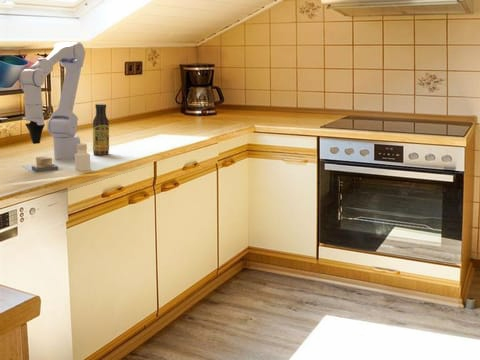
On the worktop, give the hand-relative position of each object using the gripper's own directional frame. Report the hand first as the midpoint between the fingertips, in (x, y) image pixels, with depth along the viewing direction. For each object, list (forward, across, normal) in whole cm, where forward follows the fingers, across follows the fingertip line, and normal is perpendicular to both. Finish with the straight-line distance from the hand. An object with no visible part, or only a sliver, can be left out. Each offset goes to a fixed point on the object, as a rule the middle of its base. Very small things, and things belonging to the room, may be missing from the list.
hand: (36, 143), depth 219 cm
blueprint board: (+9, +5, 0) cm, 10 cm away
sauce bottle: (+9, -13, +29) cm, 33 cm away
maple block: (+8, +8, 0) cm, 11 cm away
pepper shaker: (+9, +15, +11) cm, 21 cm away
